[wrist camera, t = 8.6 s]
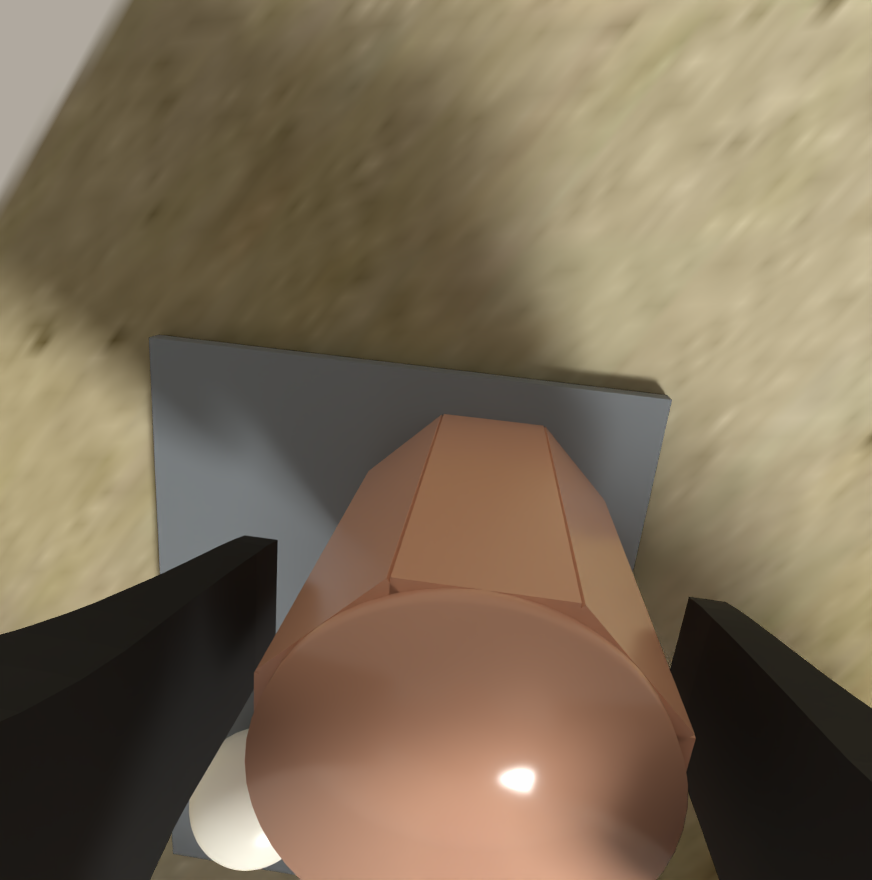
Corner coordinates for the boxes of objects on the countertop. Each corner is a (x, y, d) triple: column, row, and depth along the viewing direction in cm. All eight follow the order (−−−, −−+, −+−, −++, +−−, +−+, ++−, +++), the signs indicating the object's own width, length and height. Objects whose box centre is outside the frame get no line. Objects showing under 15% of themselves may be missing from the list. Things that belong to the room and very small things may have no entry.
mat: (553, 905, 18) (554, 919, 17) (179, 841, 19) (172, 853, 18) (667, 395, 13) (671, 399, 13) (158, 334, 14) (148, 337, 13)
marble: (330, 800, 17) (295, 913, 14) (222, 781, 17) (166, 890, 14) (335, 710, 16) (299, 812, 13) (221, 692, 16) (161, 789, 13)
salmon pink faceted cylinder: (577, 645, 15) (639, 981, 8) (358, 614, 15) (245, 913, 8) (618, 434, 13) (737, 640, 6) (371, 405, 13) (243, 573, 7)
